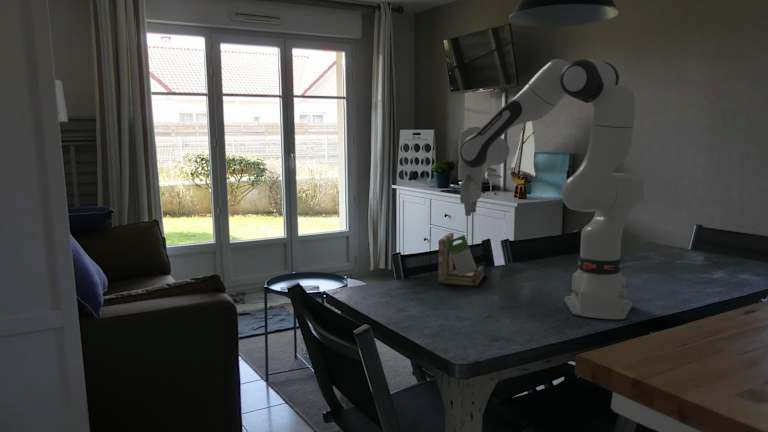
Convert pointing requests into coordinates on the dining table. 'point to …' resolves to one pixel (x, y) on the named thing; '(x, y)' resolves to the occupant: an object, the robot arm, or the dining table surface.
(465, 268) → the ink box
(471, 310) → the dining table surface
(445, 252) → the board
